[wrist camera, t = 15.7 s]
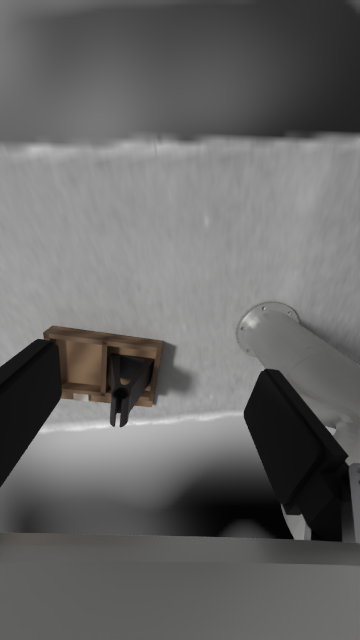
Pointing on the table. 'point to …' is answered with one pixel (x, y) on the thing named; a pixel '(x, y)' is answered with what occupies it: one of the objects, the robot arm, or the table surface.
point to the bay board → (99, 362)
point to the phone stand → (131, 392)
